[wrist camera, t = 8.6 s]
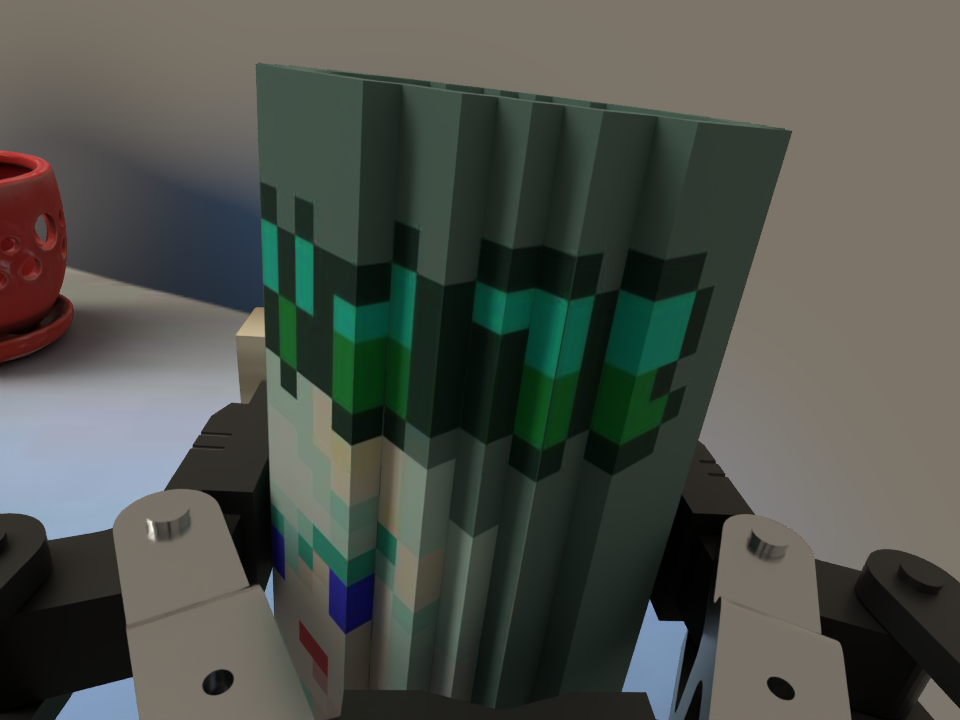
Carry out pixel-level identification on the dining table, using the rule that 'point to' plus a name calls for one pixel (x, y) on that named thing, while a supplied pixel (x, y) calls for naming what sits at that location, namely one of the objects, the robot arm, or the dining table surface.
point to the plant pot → (30, 257)
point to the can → (486, 371)
